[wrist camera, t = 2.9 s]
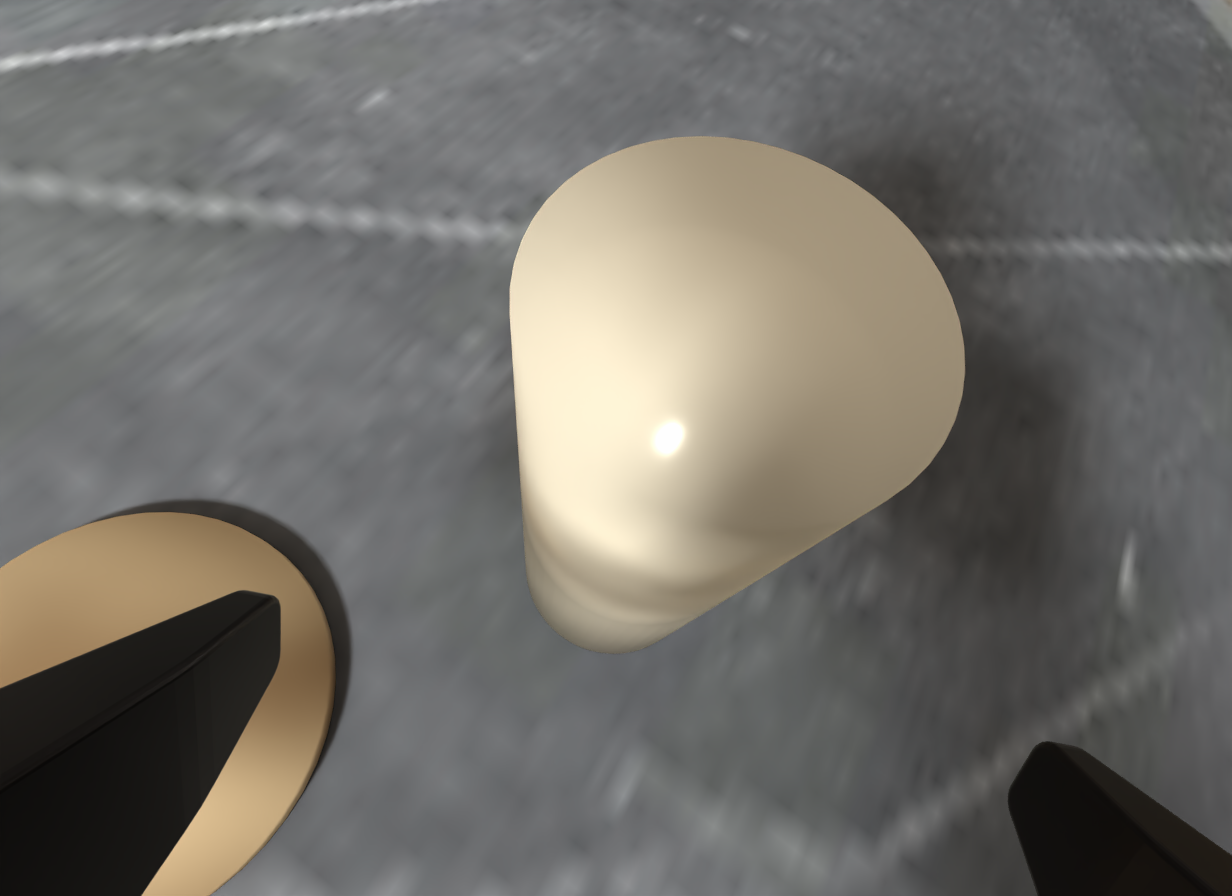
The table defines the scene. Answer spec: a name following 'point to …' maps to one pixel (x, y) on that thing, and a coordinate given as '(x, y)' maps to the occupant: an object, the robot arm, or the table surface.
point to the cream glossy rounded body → (713, 378)
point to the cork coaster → (151, 593)
